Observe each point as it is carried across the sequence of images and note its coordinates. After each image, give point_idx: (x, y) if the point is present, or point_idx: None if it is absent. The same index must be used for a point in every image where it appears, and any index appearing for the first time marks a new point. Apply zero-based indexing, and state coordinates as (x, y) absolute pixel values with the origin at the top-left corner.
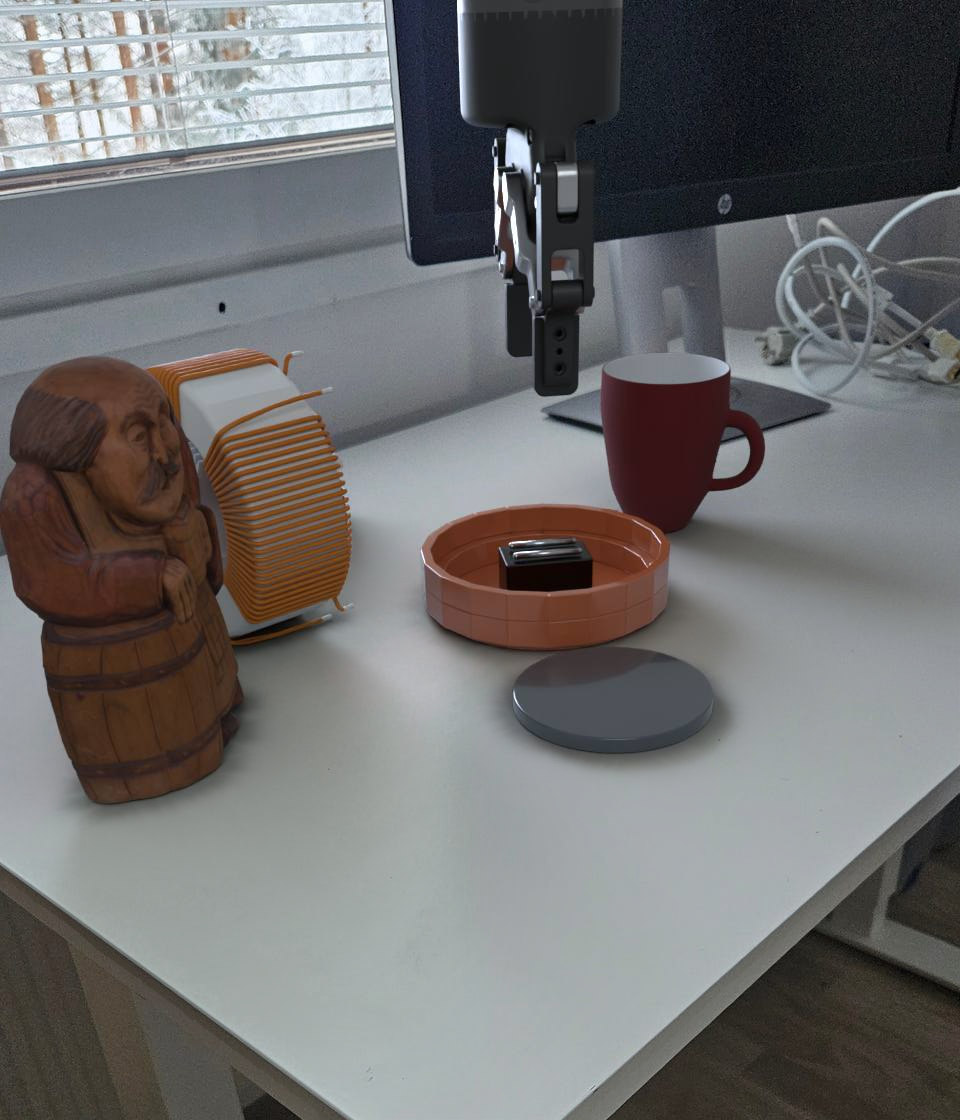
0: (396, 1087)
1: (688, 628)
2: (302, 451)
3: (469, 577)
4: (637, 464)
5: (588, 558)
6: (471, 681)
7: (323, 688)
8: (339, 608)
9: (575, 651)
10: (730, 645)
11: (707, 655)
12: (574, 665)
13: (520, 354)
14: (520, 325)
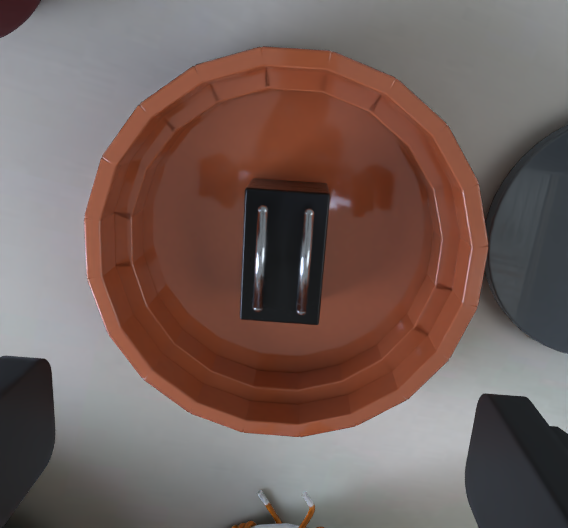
0: None
1: (433, 62)
2: None
3: (196, 325)
4: (4, 9)
5: (328, 201)
6: (481, 375)
7: (438, 517)
8: (314, 510)
9: (494, 256)
10: (510, 19)
11: (527, 66)
12: (534, 269)
13: (50, 423)
14: (9, 475)
